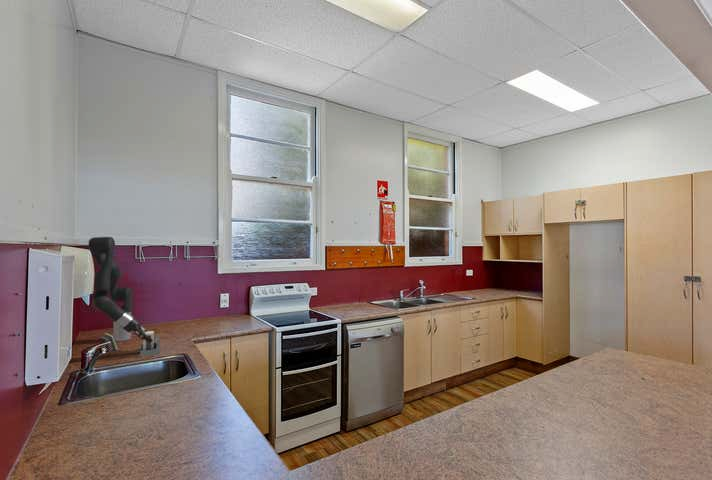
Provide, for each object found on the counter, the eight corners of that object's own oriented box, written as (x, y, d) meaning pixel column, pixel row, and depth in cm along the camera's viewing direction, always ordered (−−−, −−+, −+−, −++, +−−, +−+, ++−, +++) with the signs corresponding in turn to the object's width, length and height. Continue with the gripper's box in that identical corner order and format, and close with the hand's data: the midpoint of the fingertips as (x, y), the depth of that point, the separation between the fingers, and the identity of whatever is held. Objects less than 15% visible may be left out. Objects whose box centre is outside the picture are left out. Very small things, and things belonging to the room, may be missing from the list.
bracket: (141, 349, 200) (141, 335, 199) (159, 346, 204) (159, 333, 204) (140, 356, 187) (140, 342, 187) (159, 354, 192) (159, 339, 192)
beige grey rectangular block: (143, 351, 196) (143, 332, 196) (153, 349, 199) (153, 330, 198) (143, 353, 192) (143, 334, 192) (153, 352, 194) (153, 333, 194)
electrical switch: (118, 350, 197) (116, 334, 196) (107, 353, 193) (106, 337, 192) (110, 347, 202) (109, 331, 202) (100, 350, 198) (98, 334, 197)
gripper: (132, 319, 185) (157, 337, 191) (133, 314, 197) (156, 331, 203) (120, 330, 182) (145, 348, 188) (122, 324, 195) (146, 341, 201)
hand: (151, 339), depth 196 cm, fingers open, 8 cm apart
